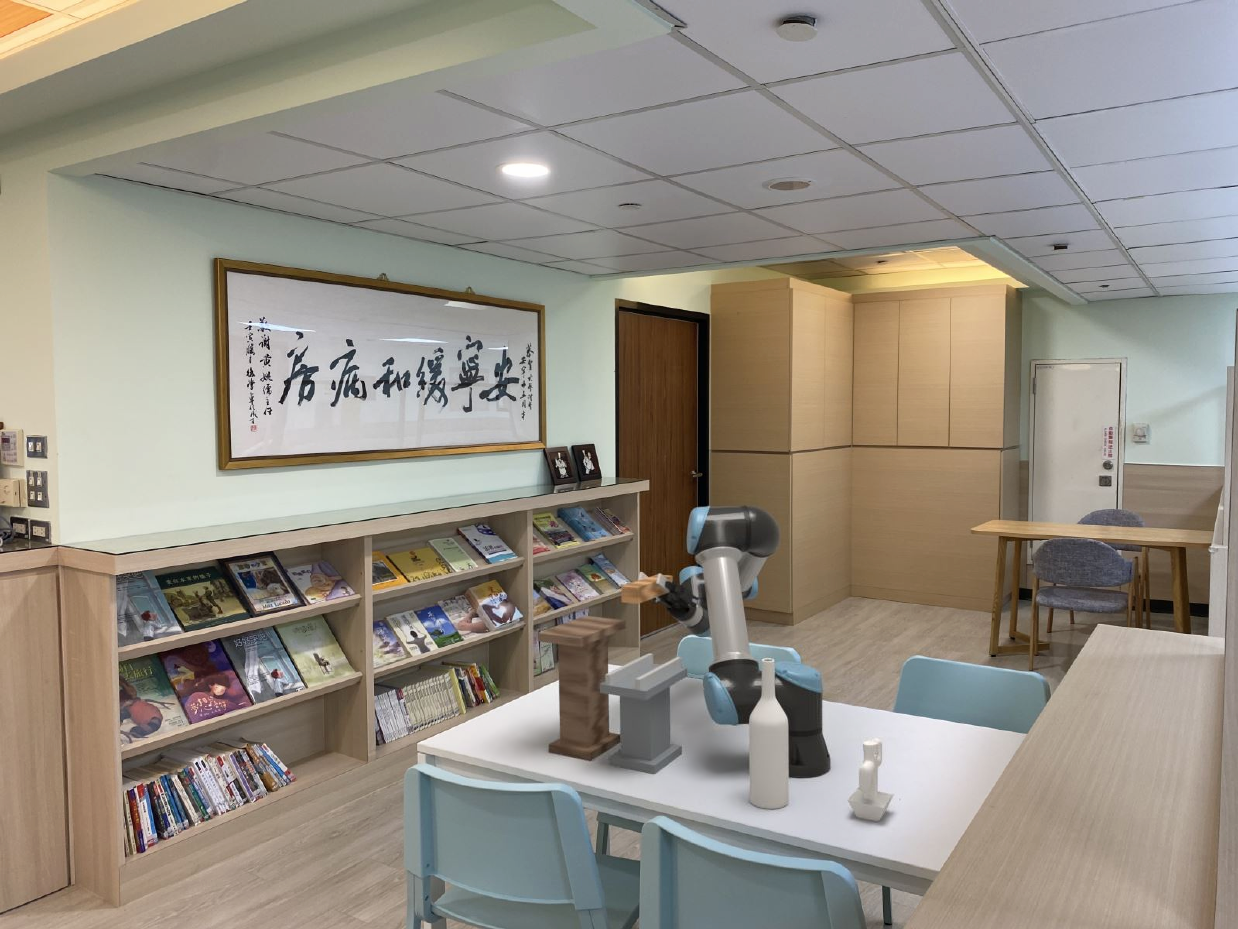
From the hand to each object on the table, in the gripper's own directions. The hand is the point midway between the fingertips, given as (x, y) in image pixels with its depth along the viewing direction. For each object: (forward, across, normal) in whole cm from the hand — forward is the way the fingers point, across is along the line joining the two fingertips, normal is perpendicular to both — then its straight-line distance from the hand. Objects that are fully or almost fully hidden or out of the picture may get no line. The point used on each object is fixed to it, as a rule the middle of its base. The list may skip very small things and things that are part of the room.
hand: (649, 577), depth 231 cm
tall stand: (-5, +10, -43) cm, 44 cm away
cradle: (-5, -7, -43) cm, 44 cm away
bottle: (+2, -41, -48) cm, 63 cm away
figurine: (-1, -62, -46) cm, 77 cm away
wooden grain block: (-2, 0, -4) cm, 5 cm away
